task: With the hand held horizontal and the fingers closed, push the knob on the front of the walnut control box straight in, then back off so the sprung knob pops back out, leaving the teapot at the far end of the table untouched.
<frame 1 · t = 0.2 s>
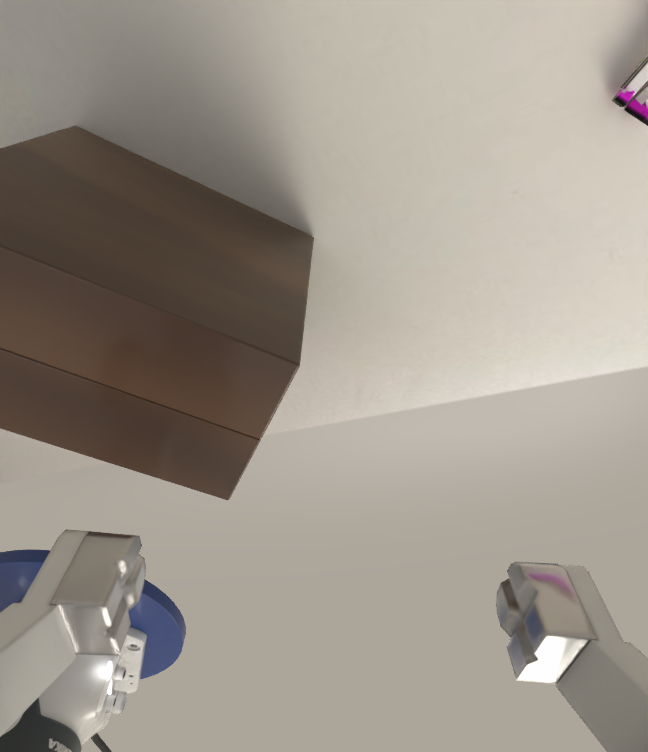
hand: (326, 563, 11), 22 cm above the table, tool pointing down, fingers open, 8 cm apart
control box: (182, 246, 29), on the table
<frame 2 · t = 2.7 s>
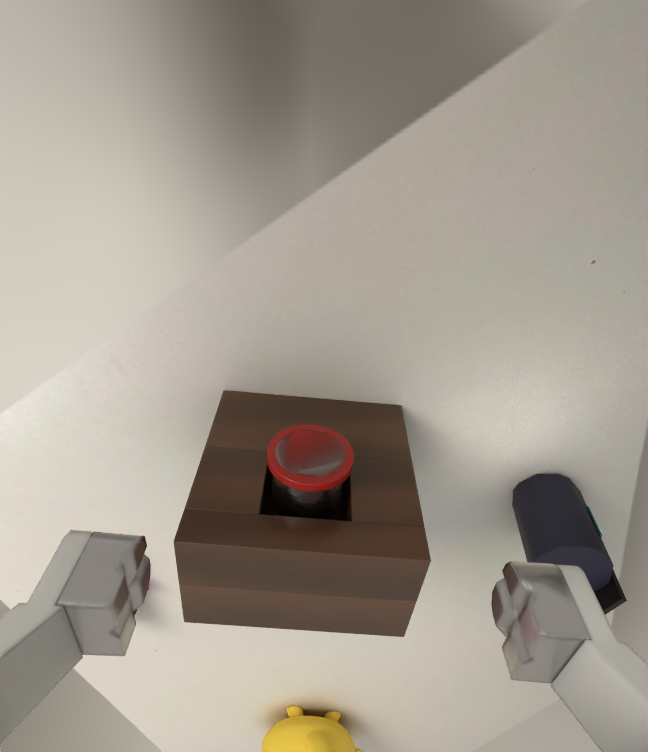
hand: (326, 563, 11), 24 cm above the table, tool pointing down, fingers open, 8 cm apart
control box: (309, 436, 40), on the table
speaker: (536, 496, 44), on the table
knob: (308, 475, 30), point 9 cm above the table, slide at -0.1 cm
teapot: (315, 719, 70), on the table
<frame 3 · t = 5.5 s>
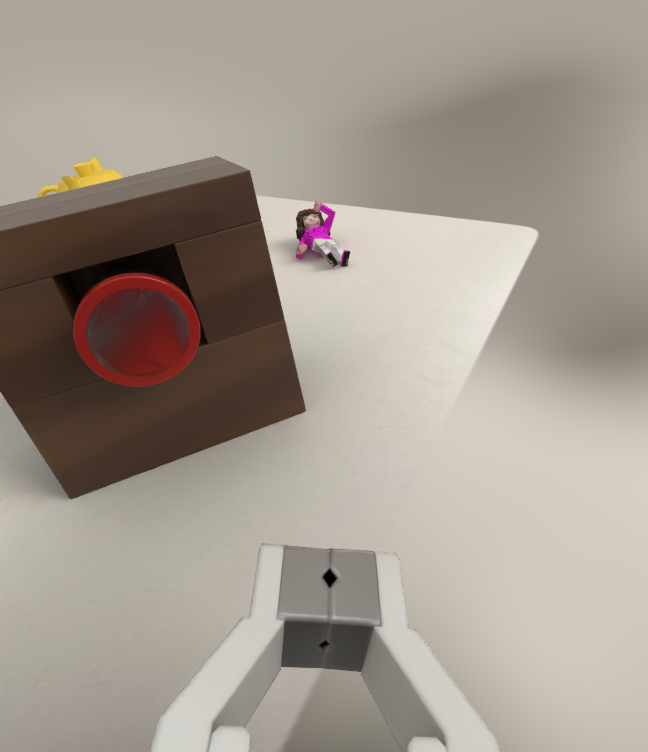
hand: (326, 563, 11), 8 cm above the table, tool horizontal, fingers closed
control box: (185, 416, 31), on the table
character figurine: (320, 255, 54), on the table
knob: (137, 318, 23), point 9 cm above the table, slide at -0.1 cm
teapot: (108, 244, 74), on the table
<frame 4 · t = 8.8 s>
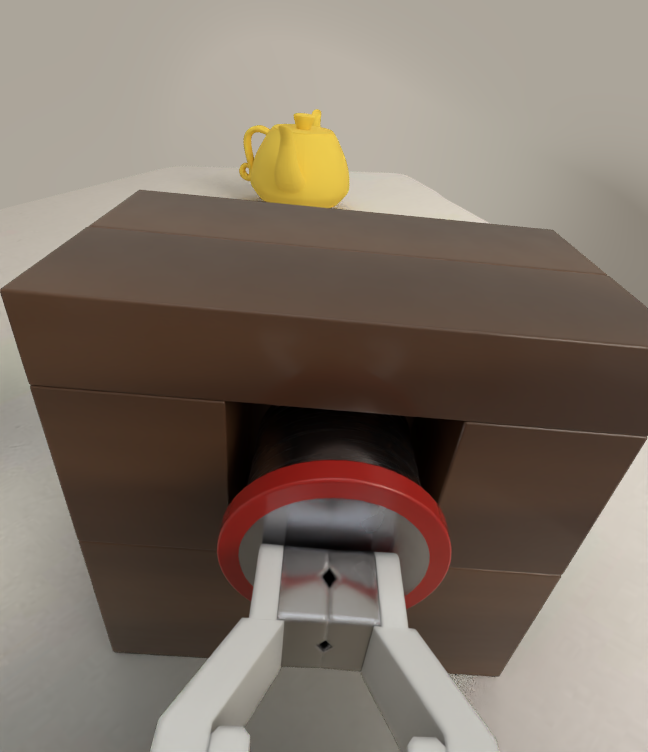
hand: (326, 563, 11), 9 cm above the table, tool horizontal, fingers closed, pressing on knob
control box: (312, 566, 21), on the table
knob: (333, 493, 12), point 9 cm above the table, slide at 0.5 cm, touching gripper
teapot: (291, 209, 66), on the table
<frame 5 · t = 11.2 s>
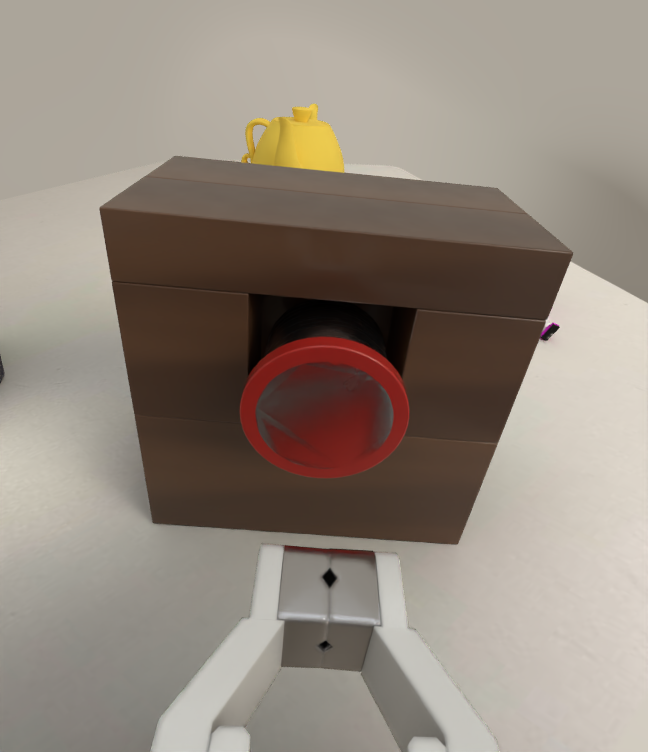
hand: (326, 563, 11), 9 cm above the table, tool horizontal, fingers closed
control box: (310, 470, 25), on the table
knob: (325, 381, 16), point 9 cm above the table, slide at -0.1 cm
teapot: (290, 197, 70), on the table
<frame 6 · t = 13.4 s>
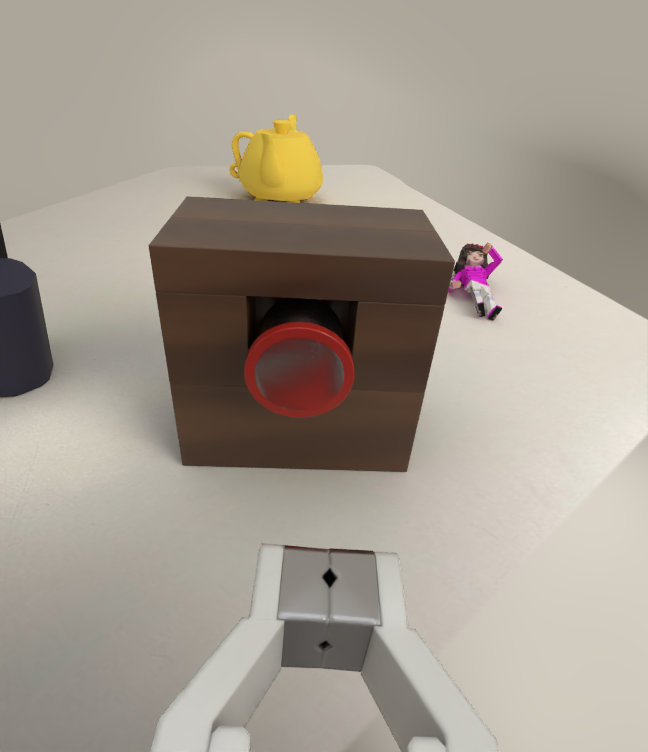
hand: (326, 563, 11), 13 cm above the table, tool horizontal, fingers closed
control box: (297, 426, 33), on the table
character figurine: (470, 295, 53), on the table
speaker: (22, 374, 36), on the table
knob: (300, 353, 24), point 9 cm above the table, slide at -0.1 cm
teapot: (275, 201, 78), on the table
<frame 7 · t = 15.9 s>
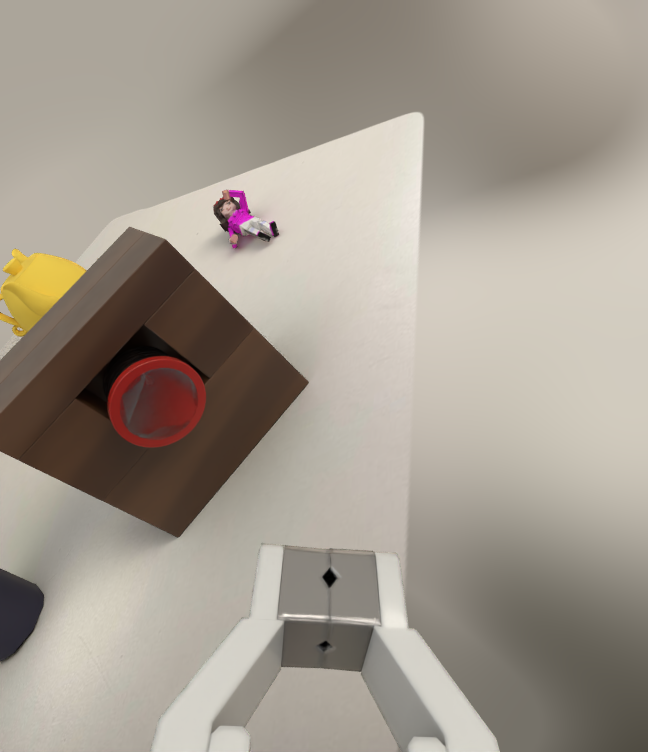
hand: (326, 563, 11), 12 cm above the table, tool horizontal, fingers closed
control box: (223, 434, 37), on the table
character figurine: (252, 234, 57), on the table
speaker: (23, 614, 38), on the table
knob: (150, 391, 28), point 9 cm above the table, slide at -0.1 cm
teapot: (72, 318, 78), on the table
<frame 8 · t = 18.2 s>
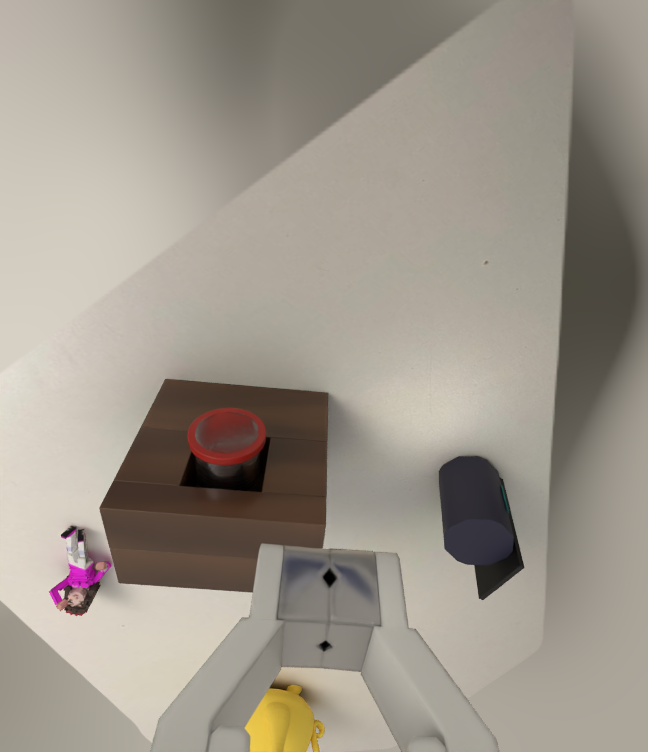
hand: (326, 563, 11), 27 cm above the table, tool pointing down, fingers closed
control box: (247, 421, 44), on the table
character figurine: (88, 557, 56), on the table
speaker: (460, 477, 47), on the table
knob: (228, 453, 34), point 9 cm above the table, slide at -0.1 cm
teapot: (278, 693, 75), on the table
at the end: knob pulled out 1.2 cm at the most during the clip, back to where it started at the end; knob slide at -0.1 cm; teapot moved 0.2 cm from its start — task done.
